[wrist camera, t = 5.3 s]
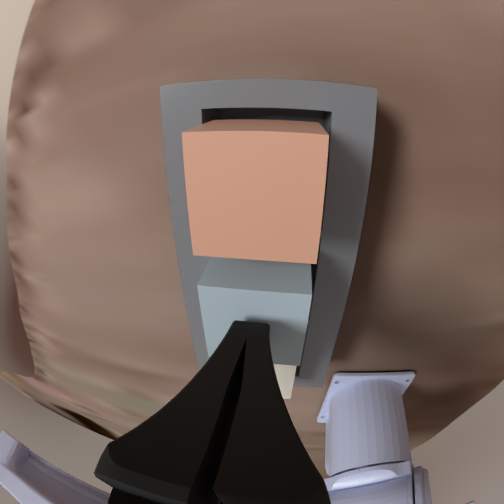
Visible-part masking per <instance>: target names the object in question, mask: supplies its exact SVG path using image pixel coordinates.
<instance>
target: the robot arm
mask: <svg viewBox="0 0 504 504" xmlns="http://www.w3.org/2000/svg"><path fill="white" fill-rule="evenodd" d="M414 377H415V373H414V372H413V371H409V372H385V373H336V374H334V375H333V377H332V380H331V383H330V386H329V388H328V391H327V394H326V396H325V399H324V402H323V404H322V407H321V409H320V412H319V415H318V417H317V422H320V423H326V446H325V469H326V472H327V474H328V478H326V479H323V478H322V476H321V475H320V473H319V472H318V470H317V469H316V467H315V465H314V464H313V462H312V460H311V459H310V457H309V455H308V453H307V451H306V450H305V448H304V446H303V444H302V442H301V440H300V438H299V436H298V434H297V432H296V429H295V427H294V425H293V423H292V420H291V418H290V416H289V413H288V411H287V408H286V405H285V403H284V400H283V397H282V394H281V391H280V387H279V384H278V381H277V377H276V373H275V369H274V364H273V360H272V354H271V347H270V325H269V324H268V323H259V322H248V321H238V320H235V321H233V322H232V324H231V326H230V328H229V330H228V331H227V333H226V335H225V336H224V338H223V340H222V341H221V343H220V344H219V346H218V347H217V348H216V350H215V351H214V353H213V354H212V355H211V357H210V358H209V359H208V361H207V362H206V363H205V365H204V366H203V367H202V368H201V369H200V371H199V372H198V373H197V374H196V375H195V376H194V378H193V379H192V380H191V381H190V382H189V383H188V384H187V385H186V386H185V387H184V388H183V389H182V390H181V391H180V392H179V393H178V394H177V395H176V396H175V397H174V398H173V399H172V400H171V401H170V402H168V403H167V404H166V405H165V406H164V407H163V408H162V409H160V410H159V411H158V412H157V413H155V414H154V415H153V416H151V417H150V418H148V419H147V420H146V421H144V422H143V423H141V424H140V425H139V426H137V427H136V428H134V429H133V430H131V431H129V432H128V433H126V434H124V435H123V436H121V437H119V438H117V439H116V440H114V441H112V442H110V443H109V444H108V445H107V447H106V448H105V450H104V452H103V453H102V455H101V457H100V460H99V462H98V464H97V467H96V469H95V472H94V474H95V476H96V477H97V478H98V479H100V480H102V481H103V482H105V483H106V484H108V485H110V486H111V487H113V489H112V491H111V494H109V493H107V492H105V491H103V490H100V489H98V488H96V487H94V486H92V485H90V484H88V483H86V482H84V481H81V480H80V479H78V478H75V477H74V476H72V475H70V474H68V473H66V472H64V471H63V470H61V469H59V468H57V467H56V466H54V465H53V464H51V463H49V462H48V461H46V460H44V459H43V458H41V457H40V456H38V455H36V454H35V453H33V452H32V451H30V449H29V448H27V447H26V446H24V445H23V444H22V443H21V442H20V441H18V440H17V439H15V438H14V437H12V436H11V435H10V434H9V433H7V432H6V431H4V430H3V431H2V433H1V434H0V484H1V485H2V486H3V487H4V488H5V489H7V490H8V491H9V492H10V493H11V494H12V495H13V496H14V497H15V498H16V499H17V500H18V501H19V502H20V503H21V504H432V500H431V489H430V481H429V475H428V470H427V469H425V468H422V466H418V467H415V468H414V466H413V464H412V459H411V450H410V443H409V435H408V429H407V422H406V416H405V410H404V405H403V399H402V395H403V394H404V392H405V391H406V389H407V388H408V386H409V385H410V383H411V382H412V380H413V379H414ZM466 504H476V503H475V501H471V502H469V503H466Z"/></svg>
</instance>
